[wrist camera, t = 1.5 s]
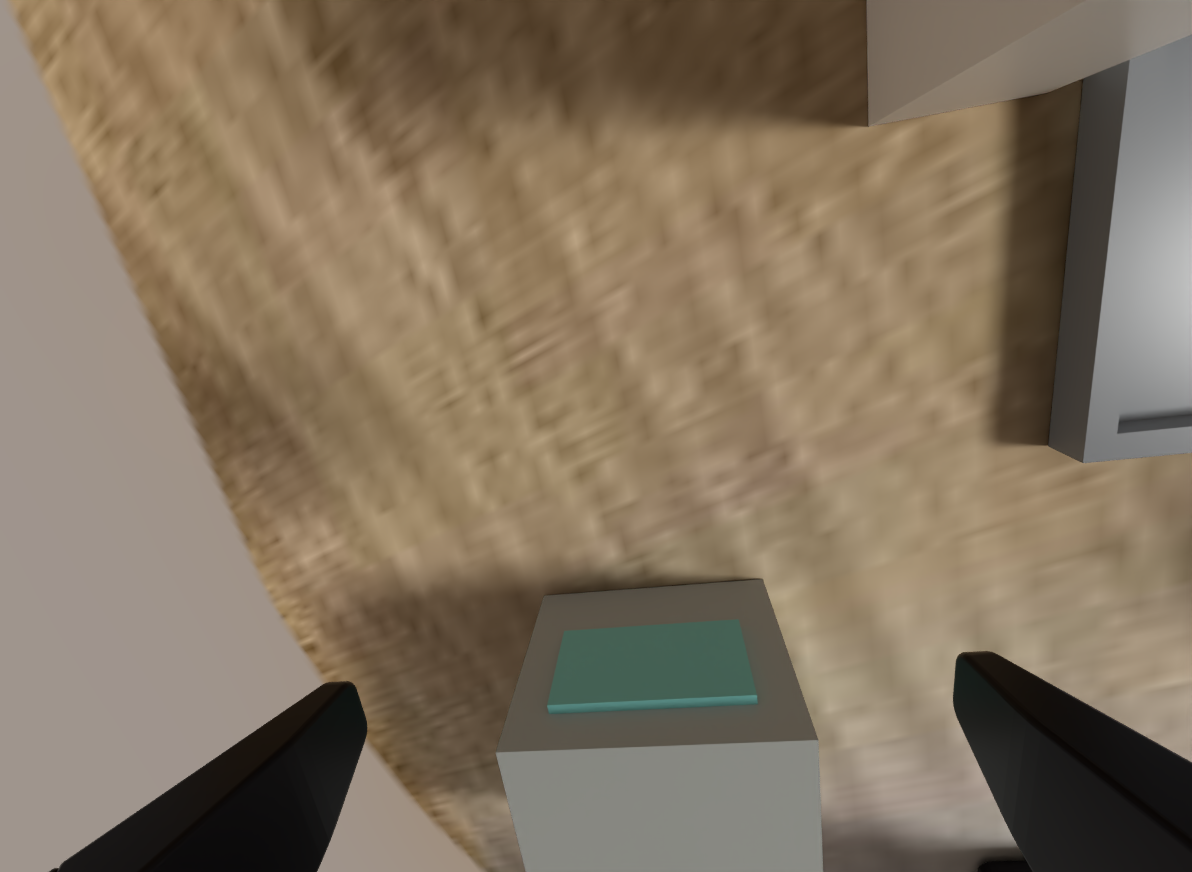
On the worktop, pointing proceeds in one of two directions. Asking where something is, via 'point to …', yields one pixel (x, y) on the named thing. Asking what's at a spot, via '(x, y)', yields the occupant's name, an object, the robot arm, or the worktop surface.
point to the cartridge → (1002, 48)
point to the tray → (1129, 266)
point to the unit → (662, 736)
